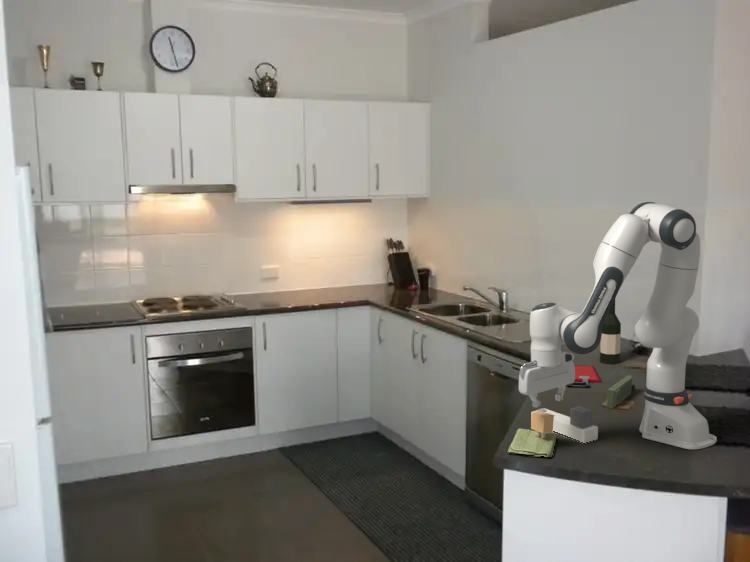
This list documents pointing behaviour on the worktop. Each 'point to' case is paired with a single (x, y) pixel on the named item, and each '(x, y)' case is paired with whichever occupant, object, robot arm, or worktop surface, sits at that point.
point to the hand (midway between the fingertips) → (548, 403)
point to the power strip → (571, 427)
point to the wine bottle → (610, 338)
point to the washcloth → (533, 443)
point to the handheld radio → (619, 391)
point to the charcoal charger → (581, 417)
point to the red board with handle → (585, 376)
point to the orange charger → (542, 423)
